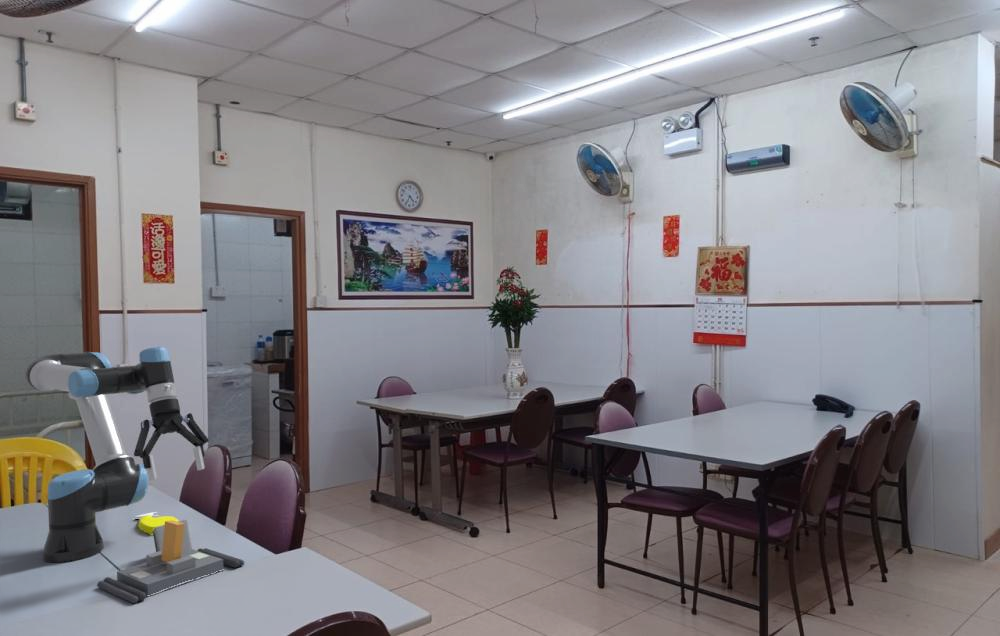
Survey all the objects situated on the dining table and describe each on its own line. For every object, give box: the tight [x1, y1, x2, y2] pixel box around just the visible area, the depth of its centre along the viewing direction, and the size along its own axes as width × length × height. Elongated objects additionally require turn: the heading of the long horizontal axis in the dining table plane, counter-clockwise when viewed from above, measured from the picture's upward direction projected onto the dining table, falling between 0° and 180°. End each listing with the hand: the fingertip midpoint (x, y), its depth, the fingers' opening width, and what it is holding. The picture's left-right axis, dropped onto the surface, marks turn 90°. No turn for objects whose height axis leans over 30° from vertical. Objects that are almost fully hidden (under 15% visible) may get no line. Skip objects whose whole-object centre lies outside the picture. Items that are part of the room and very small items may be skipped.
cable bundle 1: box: [96, 576, 147, 604], centre depth 170 cm, size 19×3×2 cm, turn 53°
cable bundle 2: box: [196, 547, 245, 569], centre depth 191 cm, size 19×3×2 cm, turn 53°
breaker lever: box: [161, 520, 184, 563], centre depth 181 cm, size 7×2×11 cm, turn 53°
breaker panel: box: [116, 548, 224, 595], centre depth 180 cm, size 16×20×5 cm
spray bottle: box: [133, 511, 180, 535], centre depth 228 cm, size 3×11×24 cm
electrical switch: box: [152, 519, 193, 552], centre depth 198 cm, size 9×5×9 cm, turn 141°
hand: (178, 474), depth 192 cm, fingers open, 13 cm apart
